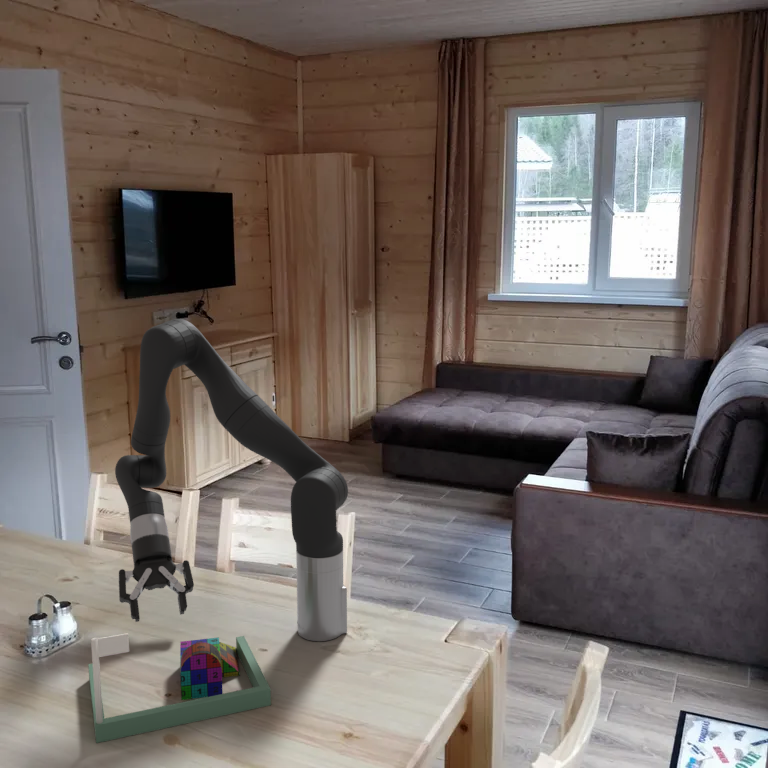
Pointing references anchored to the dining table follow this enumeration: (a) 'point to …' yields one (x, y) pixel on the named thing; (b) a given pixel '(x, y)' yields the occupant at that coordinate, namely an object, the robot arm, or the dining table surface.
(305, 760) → the dining table surface
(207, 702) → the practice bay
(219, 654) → the building blocks
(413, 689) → the dining table surface
